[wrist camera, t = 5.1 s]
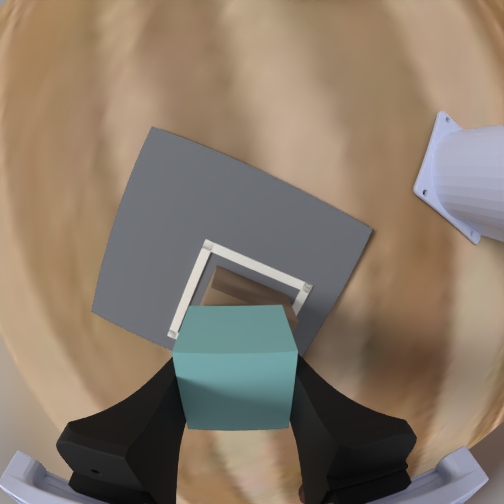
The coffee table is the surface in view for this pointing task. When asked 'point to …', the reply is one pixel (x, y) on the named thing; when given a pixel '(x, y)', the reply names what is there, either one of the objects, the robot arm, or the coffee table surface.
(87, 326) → the coffee table surface
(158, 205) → the grey flat plate
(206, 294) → the walnut block
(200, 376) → the teal block
